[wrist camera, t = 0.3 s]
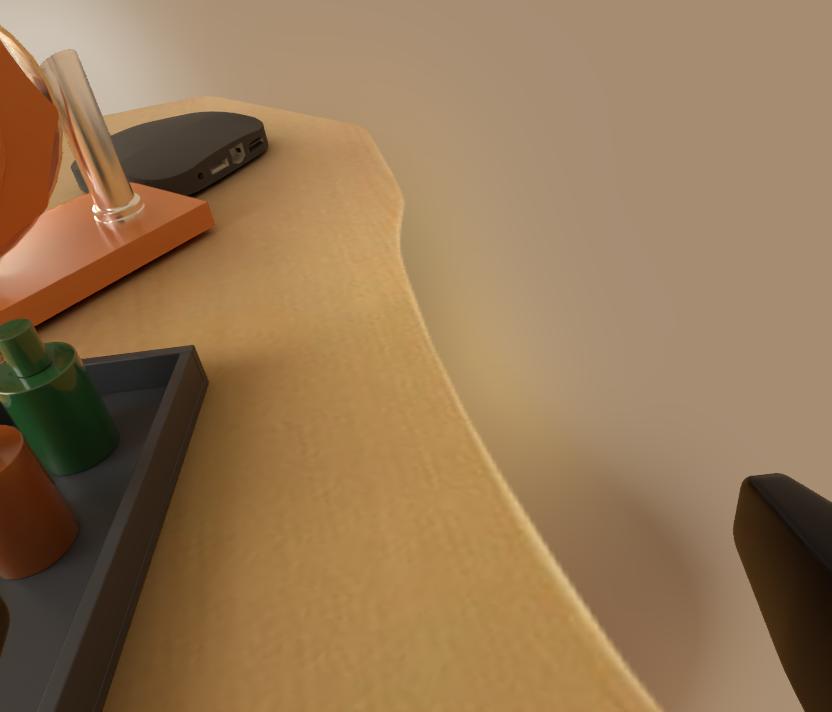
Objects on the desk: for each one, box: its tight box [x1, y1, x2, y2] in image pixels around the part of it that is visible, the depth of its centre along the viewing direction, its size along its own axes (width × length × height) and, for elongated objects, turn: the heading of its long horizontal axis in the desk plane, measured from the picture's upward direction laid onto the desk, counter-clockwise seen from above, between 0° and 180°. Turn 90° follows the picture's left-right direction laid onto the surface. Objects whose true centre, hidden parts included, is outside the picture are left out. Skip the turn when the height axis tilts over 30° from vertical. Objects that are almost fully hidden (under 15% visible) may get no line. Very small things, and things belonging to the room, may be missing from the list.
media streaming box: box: [71, 112, 268, 196], centre depth 62 cm, size 15×15×3 cm
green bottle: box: [0, 318, 120, 475], centre depth 30 cm, size 4×4×7 cm
